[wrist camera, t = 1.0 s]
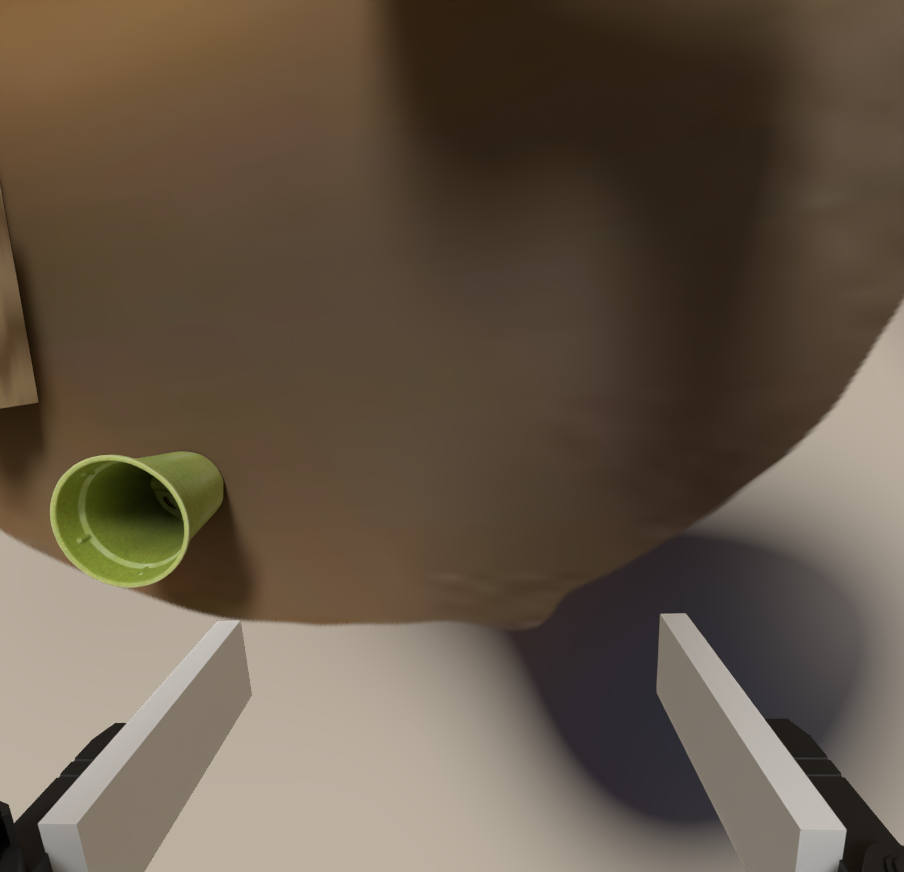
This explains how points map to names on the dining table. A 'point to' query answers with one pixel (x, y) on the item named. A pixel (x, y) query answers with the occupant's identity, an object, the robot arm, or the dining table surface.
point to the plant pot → (133, 514)
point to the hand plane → (12, 331)
